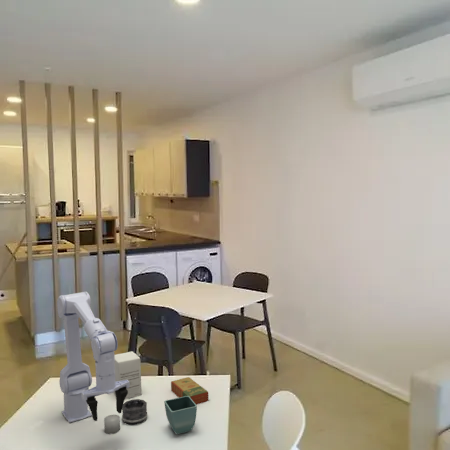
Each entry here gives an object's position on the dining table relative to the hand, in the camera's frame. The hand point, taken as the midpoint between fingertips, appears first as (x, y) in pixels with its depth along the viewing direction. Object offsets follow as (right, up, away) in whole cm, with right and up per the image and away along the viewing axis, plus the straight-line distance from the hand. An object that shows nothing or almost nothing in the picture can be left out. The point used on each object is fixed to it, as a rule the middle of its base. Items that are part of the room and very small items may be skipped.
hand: (107, 415), depth 139 cm
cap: (-1, -9, +10) cm, 14 cm away
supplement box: (-2, -7, +37) cm, 38 cm away
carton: (+23, -7, +34) cm, 42 cm away
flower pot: (+22, -9, +10) cm, 25 cm away
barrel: (+5, -8, +17) cm, 20 cm away
